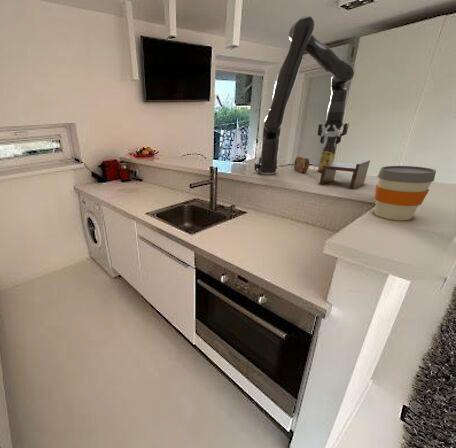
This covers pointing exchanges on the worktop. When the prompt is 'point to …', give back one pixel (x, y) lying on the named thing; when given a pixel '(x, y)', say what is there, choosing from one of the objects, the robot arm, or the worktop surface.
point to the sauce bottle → (327, 153)
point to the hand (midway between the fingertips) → (329, 143)
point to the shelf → (357, 169)
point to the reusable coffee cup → (401, 190)
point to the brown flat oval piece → (301, 164)
